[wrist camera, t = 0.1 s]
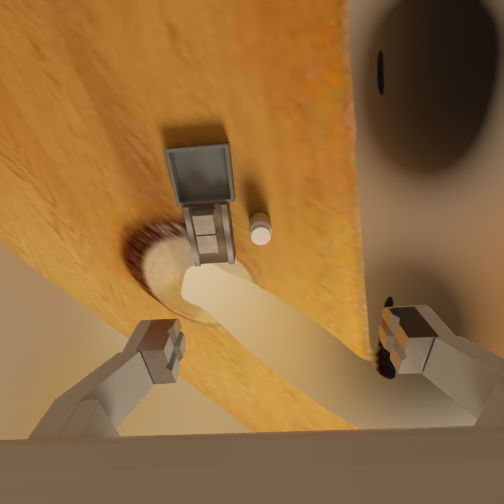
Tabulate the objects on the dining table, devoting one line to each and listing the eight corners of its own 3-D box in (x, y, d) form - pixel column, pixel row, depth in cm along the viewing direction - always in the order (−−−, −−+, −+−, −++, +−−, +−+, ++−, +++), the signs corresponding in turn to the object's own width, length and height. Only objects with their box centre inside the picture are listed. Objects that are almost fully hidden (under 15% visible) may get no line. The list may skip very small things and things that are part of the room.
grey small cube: (199, 228, 55) (196, 236, 52) (218, 227, 55) (215, 235, 51) (203, 245, 57) (199, 253, 54) (220, 243, 57) (218, 252, 53)
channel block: (188, 200, 56) (182, 207, 52) (228, 197, 56) (226, 204, 51) (199, 255, 63) (195, 266, 59) (235, 253, 63) (234, 263, 58)
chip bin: (169, 147, 51) (164, 149, 48) (229, 142, 51) (227, 144, 48) (181, 200, 56) (177, 205, 53) (235, 196, 56) (234, 201, 53)
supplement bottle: (264, 233, 60) (265, 250, 53) (246, 225, 59) (244, 241, 52) (274, 216, 58) (276, 231, 50) (255, 207, 57) (255, 221, 50)
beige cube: (196, 209, 53) (192, 216, 50) (215, 208, 53) (212, 215, 49) (199, 227, 55) (195, 235, 52) (218, 225, 55) (215, 233, 51)
